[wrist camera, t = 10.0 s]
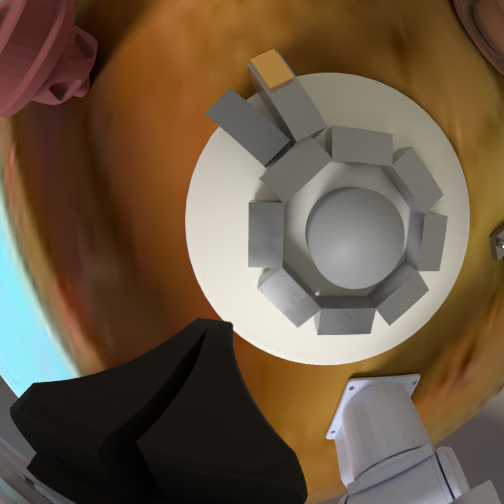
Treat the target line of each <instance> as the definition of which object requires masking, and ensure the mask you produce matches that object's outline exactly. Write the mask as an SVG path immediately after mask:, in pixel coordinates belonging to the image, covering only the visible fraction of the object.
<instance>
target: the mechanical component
mask: <svg viewBox="0 0 504 504" xmlns="http://www.w3.org/2000/svg"><path fill="white" fill-rule="evenodd" d="M75 16H76V7H75V3H74V2H73V0H3V1H2V2H1V3H0V117H9V116H11V115H14V114H15V113H17V112H18V111H20V110H21V109H22V108H23V107H24V106H25V105H26V104H27V103H28V102H29V101H30V100H34V101H37V102H40V103H44V104H49V105H57V104H60V103H62V102H64V101H66V100H67V99H69V98H70V97H71V96H72V95H74V96H77V97H83V96H84V95H86V94H87V92H88V91H89V88H90V78H89V74H90V72H91V70H92V67H93V65H94V62H95V59H96V55H97V47H98V42H97V41H96V40H95V38H94V37H93V36H92V35H91V34H89V33H87V32H85V31H84V30H82V29H81V28H79V27H77V26H76V25H74V22H75Z"/></svg>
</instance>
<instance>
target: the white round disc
mask: <svg viewBox="0 0 504 504" xmlns="http://www.w3.org/2000/svg"><path fill="white" fill-rule="evenodd" d="M296 77H297V79H298V80H299V82H300V83H301V85H302V86H303V88H304V89H305V91H306V92H307V94H308V95H309V97H310V98H311V100H312V102H313V103H314V105H315V106H316V108H317V110H318V111H319V113H320V115H321V116H322V118H323V120H324V121H325V123H326V125H327V128H326V129H325V130H323V131H322V132H321V133H320V134H319V135H318V136H317V137H315V138H314V139H315V140H316V141H317V142H318V144H319V145H320V146H321V147H322V148H323V149H324V150H325V151H326V130H327V129H329V128H330V127H331V126H342V127H351V128H358V129H366V130H372V131H379V132H385V133H390V134H393V153H394V152H395V151H396V150H398V149H400V148H405V147H411V146H412V148H413V149H414V150H415V152H416V153H417V154H418V156H419V157H420V159H421V160H422V162H423V163H424V165H425V166H426V168H427V169H428V171H429V172H430V174H431V175H432V177H433V178H434V180H435V181H436V183H437V185H438V186H439V188H440V190H441V191H442V193H443V196H442V197H441V198H440V199H439V200H438V201H437V202H436V203H435V204H434V206H433V207H432V208H431V209H430V210H429V211H431V212H436V213H439V214H443V215H446V216H448V219H447V228H446V235H445V242H444V248H443V254H442V260H441V265H440V270H439V271H418V272H419V274H420V275H421V277H422V279H423V280H424V282H425V284H426V285H427V287H428V289H429V291H428V292H427V293H426V294H425V295H424V296H422V297H421V298H420V299H419V300H418V301H417V302H416V303H415V304H414V305H413V306H412V307H411V308H410V309H408V310H407V311H406V312H405V313H404V314H403V315H402V316H401V317H399V318H398V319H397V320H396V321H395V322H394V323H392V324H391V325H390V326H389V325H388V324H387V323H386V321H385V320H384V319H383V318H382V316H381V315H380V314H379V312H378V311H377V310H376V312H375V316H374V321H373V325H372V329H371V334H357V335H317V332H316V327H315V323H314V316H313V317H311V318H310V319H309V320H308V321H306V322H305V323H304V324H302V325H301V326H300V327H298V328H297V327H296V326H295V325H294V324H293V323H292V322H291V321H290V320H289V319H288V318H287V317H286V316H285V315H284V314H283V313H282V312H281V311H280V310H279V309H278V308H277V307H276V306H274V305H273V304H272V303H271V302H270V301H269V300H268V299H267V298H266V297H265V296H264V295H263V294H262V293H261V292H260V291H259V290H258V289H257V286H258V280H259V277H260V276H261V275H262V274H263V273H264V272H265V271H266V270H267V269H269V268H257V267H248V219H249V201H250V200H251V199H253V200H280V199H279V198H278V197H277V196H276V195H275V194H274V193H273V192H272V191H271V190H270V189H269V188H268V187H267V186H266V185H265V184H264V183H263V182H262V181H261V180H260V179H259V178H260V177H261V176H262V175H263V174H264V173H265V172H266V171H267V170H268V169H269V168H271V167H272V166H273V165H274V164H275V163H276V162H277V161H278V160H279V159H280V158H281V157H282V156H283V155H285V154H286V153H287V152H288V151H289V150H290V149H291V147H290V145H289V142H290V139H289V138H288V137H287V136H286V135H285V134H284V133H282V131H281V130H280V128H279V126H278V125H277V123H276V121H275V120H274V118H273V116H272V115H271V113H270V112H269V110H268V108H267V107H266V105H265V104H264V102H263V101H262V99H261V97H260V96H259V94H258V93H256V94H255V95H253V96H252V97H250V98H249V99H247V100H245V99H243V98H242V97H241V96H240V95H238V94H237V93H236V92H235V91H233V90H232V89H231V88H230V89H229V90H228V91H227V92H226V93H225V94H224V95H223V96H222V97H221V98H220V99H219V100H218V101H217V102H216V103H215V104H214V105H213V106H212V107H211V108H210V109H209V110H208V111H207V112H206V113H205V114H206V115H207V116H208V117H209V118H211V119H212V120H213V121H214V122H215V123H216V124H217V125H219V127H218V128H217V130H216V131H215V132H214V134H213V135H212V136H211V138H210V139H209V141H208V143H207V145H206V146H205V148H204V150H203V152H202V153H201V155H200V157H199V160H198V162H197V165H196V168H195V170H194V173H193V175H192V179H191V183H190V187H189V192H188V196H187V205H186V216H185V222H186V240H187V245H188V251H189V256H190V260H191V263H192V266H193V269H194V272H195V275H196V278H197V280H198V282H199V284H200V286H201V288H202V290H203V292H204V294H205V296H206V298H207V299H208V301H209V302H210V304H211V305H212V307H213V308H214V310H215V311H216V312H217V313H218V314H219V316H220V317H221V318H222V319H223V320H224V321H228V322H231V323H232V324H233V330H234V331H235V332H236V333H238V334H239V335H240V336H241V337H242V338H244V339H245V340H247V341H248V342H250V343H251V344H253V345H254V346H256V347H258V348H260V349H262V350H264V351H266V352H268V353H270V354H272V355H275V356H278V357H281V358H284V359H287V360H290V361H295V362H300V363H305V364H315V365H337V364H345V363H351V362H356V361H360V360H364V359H367V358H371V357H373V356H376V355H378V354H381V353H383V352H385V351H388V350H389V349H391V348H393V347H395V346H397V345H398V344H400V343H402V342H403V341H405V340H406V339H407V338H409V337H410V336H412V335H413V334H414V333H416V332H417V331H418V330H419V329H420V328H421V327H422V326H423V325H424V324H425V323H427V322H428V320H429V319H430V318H431V317H432V316H433V315H434V314H435V312H436V311H437V310H438V309H439V308H440V306H441V305H442V303H443V302H444V300H445V299H446V297H447V296H448V294H449V293H450V291H451V289H452V287H453V285H454V283H455V281H456V279H457V277H458V274H459V272H460V269H461V267H462V264H463V260H464V257H465V253H466V249H467V244H468V237H469V230H470V206H469V196H468V190H467V186H466V181H465V177H464V174H463V171H462V168H461V165H460V162H459V160H458V157H457V155H456V153H455V151H454V149H453V147H452V146H451V144H450V142H449V140H448V139H447V137H446V136H445V134H444V133H443V131H442V130H441V129H440V127H439V126H438V125H437V124H436V122H435V121H434V120H433V119H432V118H431V117H430V116H429V115H428V114H427V112H425V111H424V110H423V109H422V108H421V107H420V106H419V105H417V104H416V103H415V102H414V101H413V100H411V99H410V98H408V97H407V96H405V95H404V94H402V93H400V92H399V91H397V90H396V89H394V88H391V87H389V86H387V85H385V84H383V83H380V82H378V81H375V80H372V79H369V78H365V77H362V76H358V75H351V74H344V73H314V74H308V75H302V76H296ZM410 215H411V209H410V207H409V206H408V205H407V203H406V202H405V200H404V199H403V197H402V196H401V194H400V193H399V192H398V190H397V189H396V188H395V186H394V185H393V183H392V182H391V181H390V179H389V178H388V177H387V175H386V174H385V173H384V172H383V170H382V169H381V168H380V167H375V166H367V165H358V164H348V163H337V162H329V163H328V164H327V165H326V166H325V167H324V168H323V169H322V170H321V171H320V172H319V173H317V174H316V175H315V176H314V177H313V178H312V179H311V180H310V181H309V182H308V183H307V184H305V185H304V186H303V187H302V188H301V189H300V190H299V191H298V192H297V193H296V194H295V195H294V196H293V197H291V198H290V199H289V200H288V201H287V202H286V203H285V208H284V237H283V260H284V261H285V262H286V263H287V264H288V265H289V266H290V267H291V269H292V270H293V271H294V272H295V273H296V274H297V275H298V276H299V277H300V278H301V279H302V280H303V281H304V282H305V283H306V284H307V285H308V286H309V287H310V288H311V289H312V291H313V292H314V293H315V294H316V295H317V296H367V295H368V294H370V293H371V292H372V291H373V290H374V289H375V288H376V287H378V286H379V285H380V284H381V283H382V282H383V281H384V280H385V279H386V278H388V277H389V276H390V275H391V274H392V273H393V272H394V271H395V270H396V269H397V268H398V267H399V266H400V265H401V264H403V263H404V262H405V256H406V249H407V242H408V234H409V225H410Z"/></svg>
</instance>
